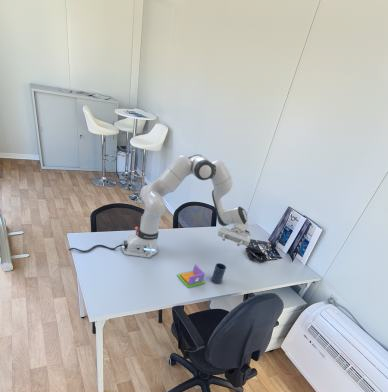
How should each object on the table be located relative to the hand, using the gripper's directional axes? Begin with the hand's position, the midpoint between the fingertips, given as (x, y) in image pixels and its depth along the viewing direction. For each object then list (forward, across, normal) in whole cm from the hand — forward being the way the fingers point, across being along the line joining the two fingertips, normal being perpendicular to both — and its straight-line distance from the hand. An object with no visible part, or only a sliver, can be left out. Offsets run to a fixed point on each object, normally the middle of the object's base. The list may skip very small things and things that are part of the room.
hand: (230, 242), depth 172 cm
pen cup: (+13, 0, +21) cm, 24 cm away
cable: (-34, +14, +23) cm, 43 cm away
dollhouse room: (+22, -13, +20) cm, 33 cm away
